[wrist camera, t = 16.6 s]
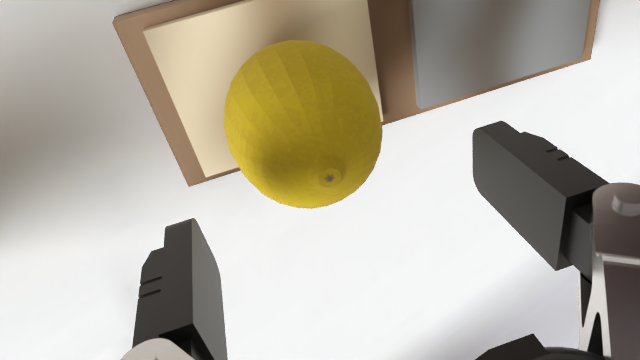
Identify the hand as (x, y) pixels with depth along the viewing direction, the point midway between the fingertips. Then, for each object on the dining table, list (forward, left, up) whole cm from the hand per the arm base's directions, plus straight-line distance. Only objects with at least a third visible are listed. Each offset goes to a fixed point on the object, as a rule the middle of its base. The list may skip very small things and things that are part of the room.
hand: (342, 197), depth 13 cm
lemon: (0, 0, -9) cm, 9 cm away
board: (-5, 0, -10) cm, 12 cm away
